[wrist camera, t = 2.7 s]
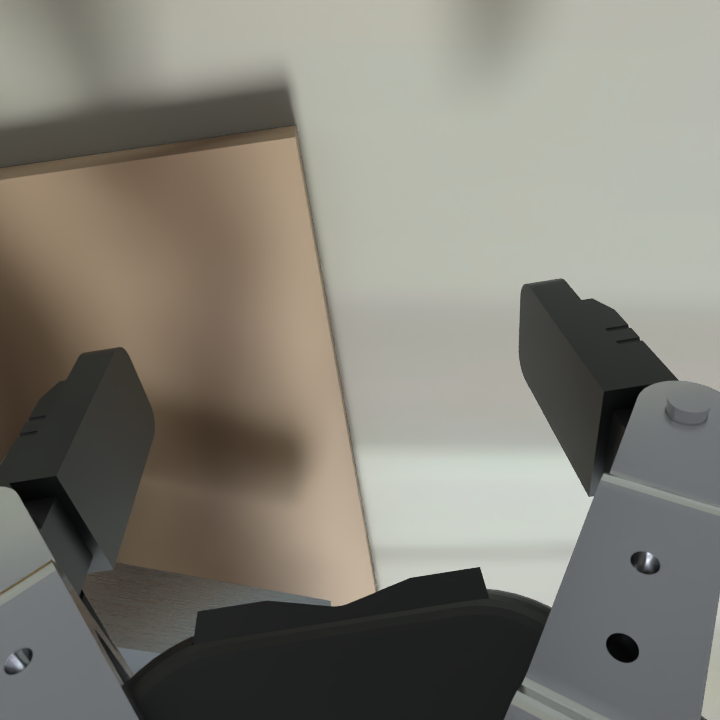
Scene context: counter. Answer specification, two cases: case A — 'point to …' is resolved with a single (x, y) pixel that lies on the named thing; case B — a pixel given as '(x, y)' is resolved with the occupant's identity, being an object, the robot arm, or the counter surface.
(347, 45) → the counter surface
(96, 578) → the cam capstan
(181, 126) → the counter surface
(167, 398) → the walnut board
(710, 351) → the counter surface
